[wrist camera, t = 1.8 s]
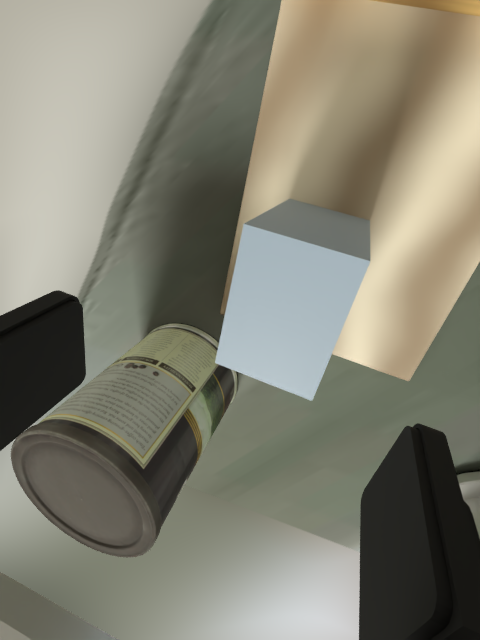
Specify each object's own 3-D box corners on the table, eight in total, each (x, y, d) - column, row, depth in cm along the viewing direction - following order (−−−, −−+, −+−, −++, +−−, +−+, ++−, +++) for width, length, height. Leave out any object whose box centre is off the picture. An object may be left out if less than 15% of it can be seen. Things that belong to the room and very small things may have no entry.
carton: (370, 220, 20) (370, 261, 12) (330, 320, 23) (312, 400, 16) (284, 197, 21) (236, 221, 13) (259, 296, 24) (208, 360, 17)
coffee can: (260, 397, 30) (188, 555, 18) (181, 424, 35) (85, 562, 23) (195, 302, 28) (68, 410, 16) (122, 346, 33) (-16, 453, 21)
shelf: (612, 11, 15) (667, -22, 12) (406, 369, 25) (411, 396, 22) (296, -31, 17) (283, -65, 15) (226, 306, 27) (211, 322, 25)
